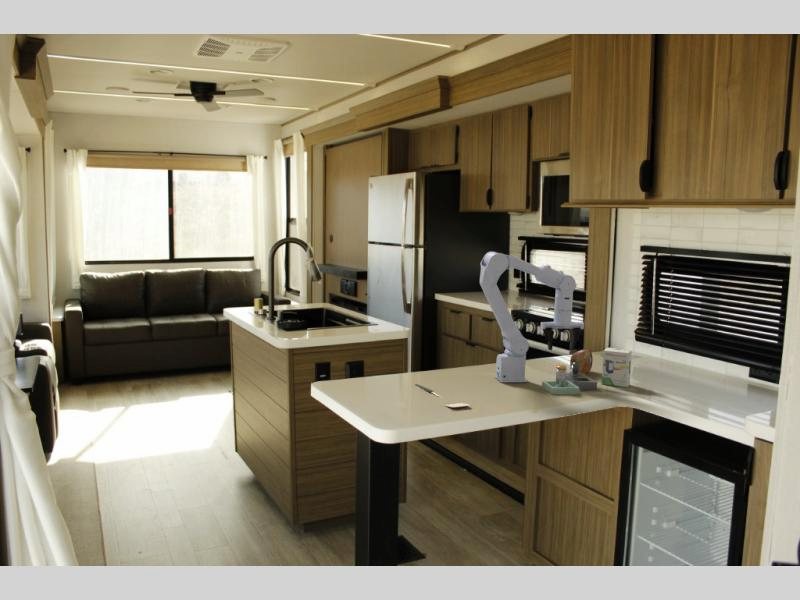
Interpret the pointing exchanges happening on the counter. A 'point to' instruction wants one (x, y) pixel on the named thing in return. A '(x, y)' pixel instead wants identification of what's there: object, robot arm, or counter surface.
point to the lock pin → (560, 376)
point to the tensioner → (580, 378)
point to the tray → (560, 388)
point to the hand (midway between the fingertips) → (560, 349)
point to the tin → (582, 361)
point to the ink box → (616, 367)
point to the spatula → (440, 396)
